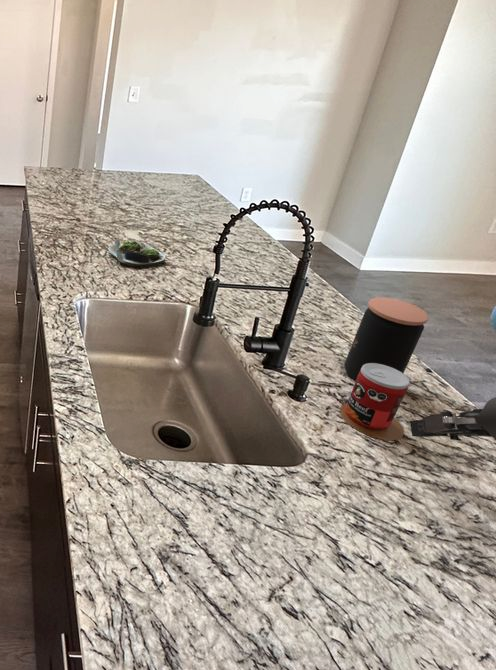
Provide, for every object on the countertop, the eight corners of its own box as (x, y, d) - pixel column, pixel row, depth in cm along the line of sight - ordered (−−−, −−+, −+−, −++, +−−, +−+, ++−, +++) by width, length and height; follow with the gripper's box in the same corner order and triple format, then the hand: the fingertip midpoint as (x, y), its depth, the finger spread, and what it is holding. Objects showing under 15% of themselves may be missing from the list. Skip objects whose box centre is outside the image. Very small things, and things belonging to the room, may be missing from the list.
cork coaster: (398, 413, 111) (398, 413, 111) (408, 447, 103) (409, 447, 103) (337, 396, 116) (337, 396, 116) (342, 428, 107) (342, 427, 107)
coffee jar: (365, 360, 129) (392, 294, 121) (409, 387, 120) (441, 318, 112) (331, 367, 126) (357, 300, 118) (374, 395, 117) (405, 325, 109)
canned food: (336, 404, 113) (353, 361, 109) (374, 406, 113) (393, 363, 108) (358, 430, 106) (377, 385, 102) (398, 432, 106) (419, 387, 102)
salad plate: (94, 246, 186) (96, 234, 184) (139, 242, 191) (141, 230, 189) (123, 270, 170) (125, 257, 168) (171, 264, 175) (174, 251, 173)
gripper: (487, 443, 74) (379, 446, 96) (590, 454, 73) (457, 454, 95) (476, 388, 77) (374, 404, 99) (576, 397, 75) (450, 411, 98)
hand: (415, 428), depth 97 cm, fingers closed
